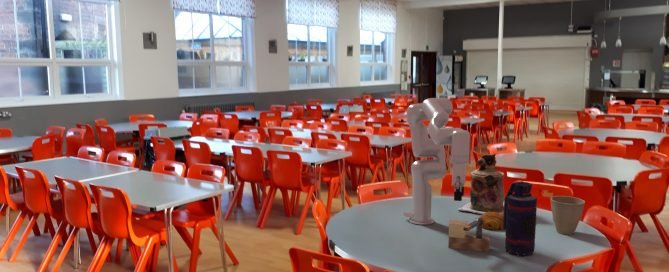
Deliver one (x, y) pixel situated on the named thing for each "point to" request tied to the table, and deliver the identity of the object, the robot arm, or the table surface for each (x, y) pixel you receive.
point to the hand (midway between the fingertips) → (458, 198)
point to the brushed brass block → (457, 228)
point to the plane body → (471, 241)
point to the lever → (473, 224)
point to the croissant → (492, 220)
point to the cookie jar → (486, 188)
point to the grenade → (520, 219)
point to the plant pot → (566, 213)
